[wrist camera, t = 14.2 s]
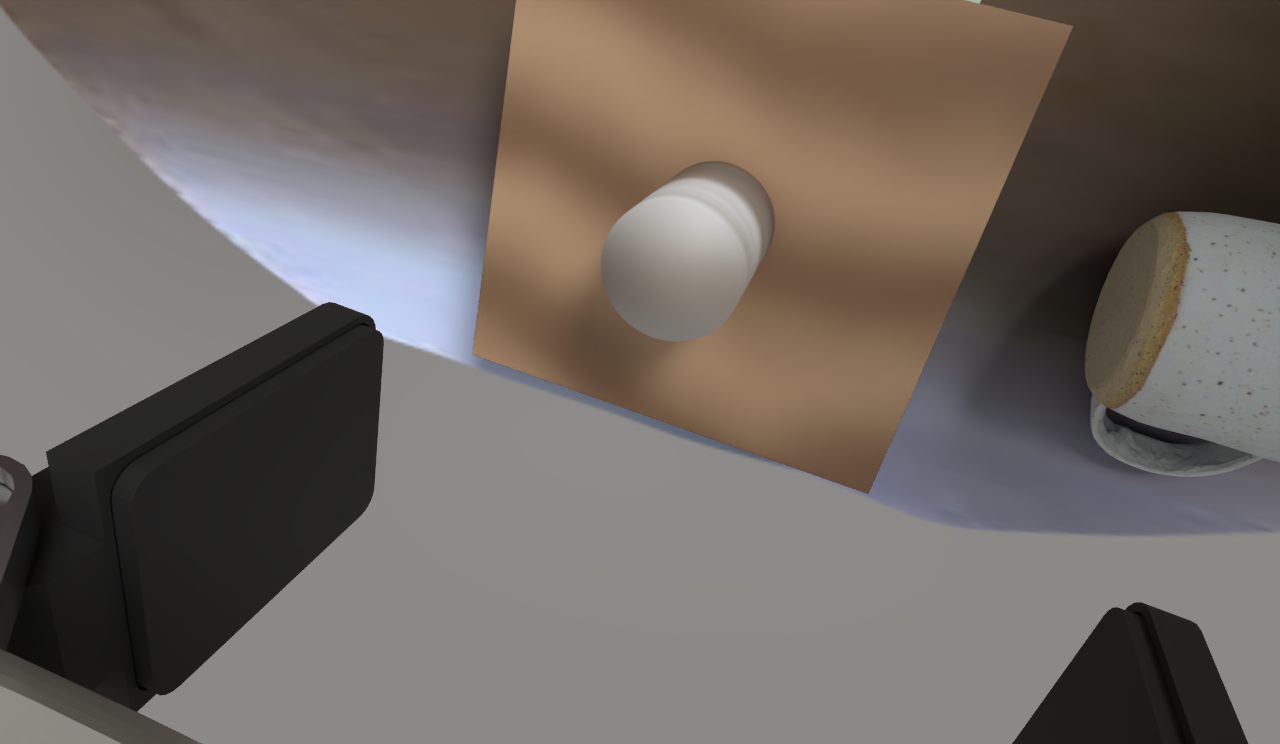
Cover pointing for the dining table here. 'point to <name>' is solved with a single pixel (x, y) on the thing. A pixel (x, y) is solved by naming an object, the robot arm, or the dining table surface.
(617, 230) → the walnut lid
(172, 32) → the dining table surface
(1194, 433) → the ceramic mug
